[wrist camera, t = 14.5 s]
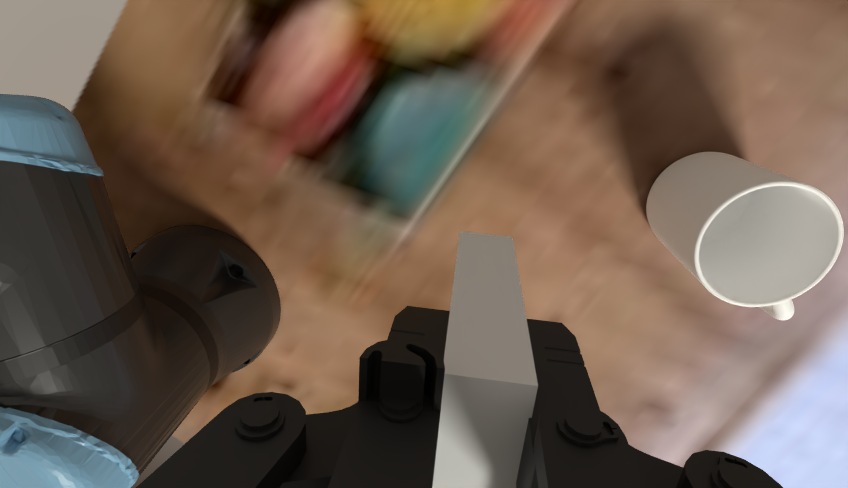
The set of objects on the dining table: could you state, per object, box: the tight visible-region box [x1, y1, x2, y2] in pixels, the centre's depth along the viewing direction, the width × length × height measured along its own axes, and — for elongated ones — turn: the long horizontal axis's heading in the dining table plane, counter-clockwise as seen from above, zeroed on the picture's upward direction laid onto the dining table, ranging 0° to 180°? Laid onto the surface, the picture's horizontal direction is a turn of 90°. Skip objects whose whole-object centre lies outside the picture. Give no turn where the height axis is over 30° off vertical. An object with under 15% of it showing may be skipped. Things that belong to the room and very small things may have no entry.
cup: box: [646, 152, 844, 320], centre depth 34 cm, size 8×12×10 cm
